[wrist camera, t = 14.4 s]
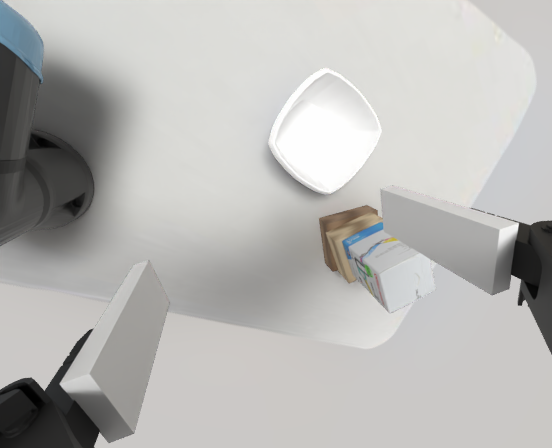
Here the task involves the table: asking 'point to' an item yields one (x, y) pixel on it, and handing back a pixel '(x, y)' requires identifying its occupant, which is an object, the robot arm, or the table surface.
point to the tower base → (336, 221)
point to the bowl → (325, 132)
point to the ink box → (389, 268)
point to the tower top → (343, 233)
